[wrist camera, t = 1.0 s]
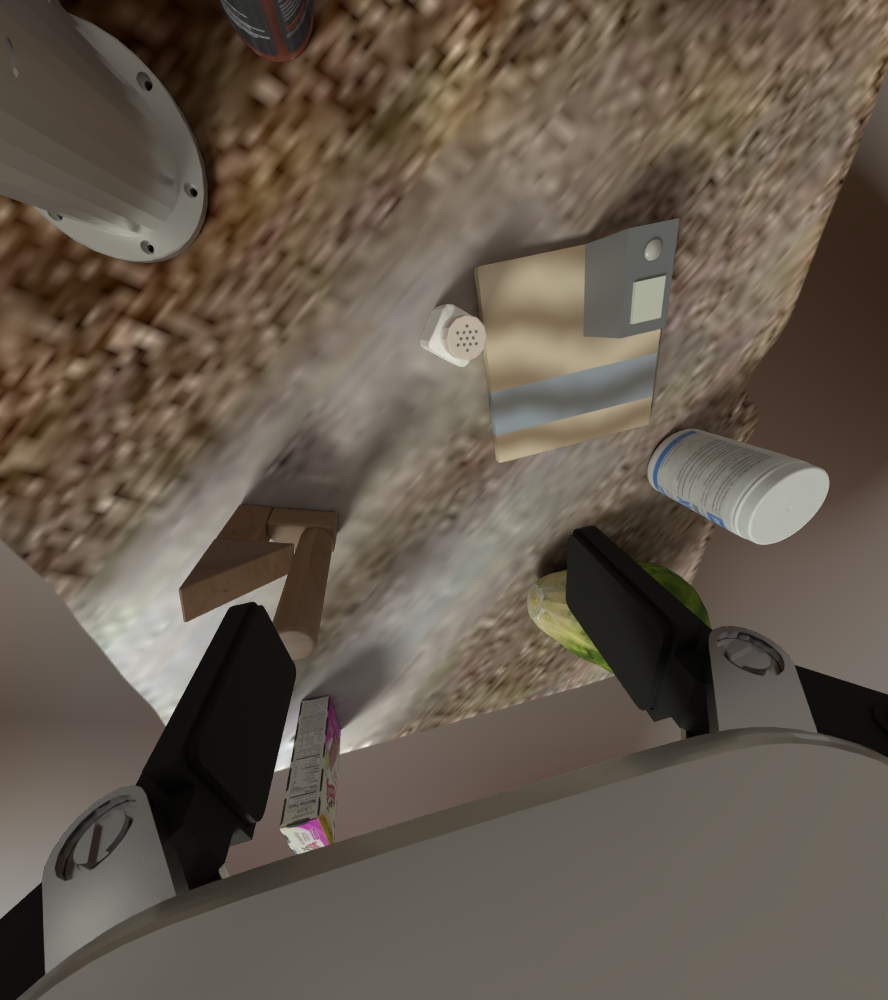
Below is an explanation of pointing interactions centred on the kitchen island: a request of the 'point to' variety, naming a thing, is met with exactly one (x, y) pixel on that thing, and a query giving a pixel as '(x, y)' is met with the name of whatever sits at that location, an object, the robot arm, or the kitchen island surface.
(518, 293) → the plywood panel
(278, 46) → the supplement bottle
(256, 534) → the wooden letter
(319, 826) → the candy bar box
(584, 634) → the lettuce
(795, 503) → the supplement tub
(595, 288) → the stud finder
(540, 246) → the kitchen island surface
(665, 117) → the kitchen island surface
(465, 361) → the pepper shaker
